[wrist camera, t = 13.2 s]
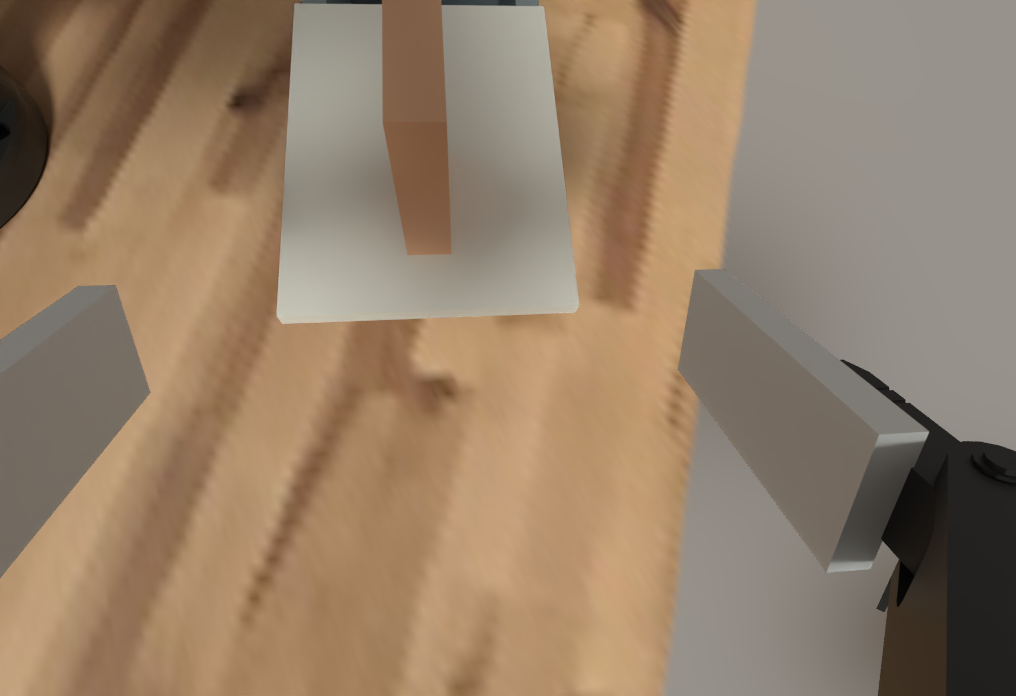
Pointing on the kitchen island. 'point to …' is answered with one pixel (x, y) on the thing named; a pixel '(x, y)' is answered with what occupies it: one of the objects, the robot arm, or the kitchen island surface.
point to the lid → (422, 166)
